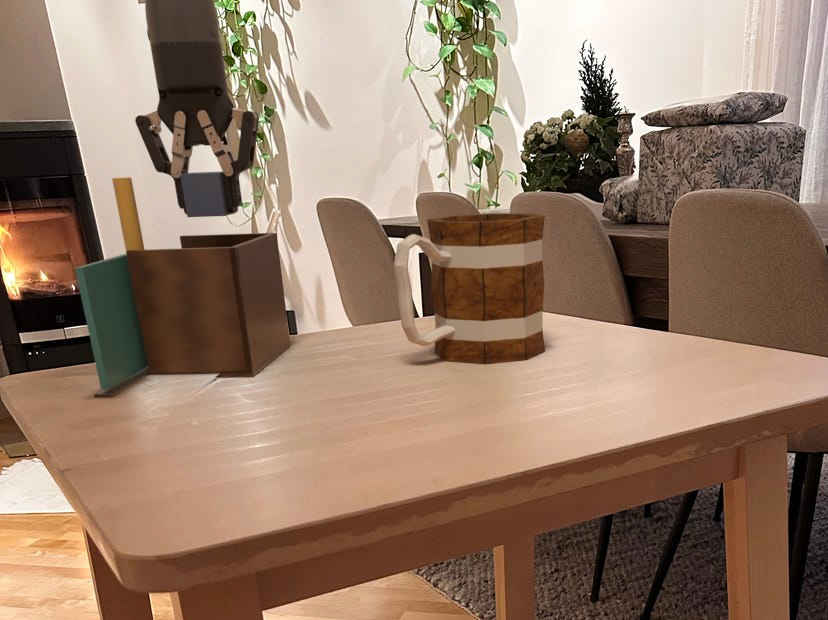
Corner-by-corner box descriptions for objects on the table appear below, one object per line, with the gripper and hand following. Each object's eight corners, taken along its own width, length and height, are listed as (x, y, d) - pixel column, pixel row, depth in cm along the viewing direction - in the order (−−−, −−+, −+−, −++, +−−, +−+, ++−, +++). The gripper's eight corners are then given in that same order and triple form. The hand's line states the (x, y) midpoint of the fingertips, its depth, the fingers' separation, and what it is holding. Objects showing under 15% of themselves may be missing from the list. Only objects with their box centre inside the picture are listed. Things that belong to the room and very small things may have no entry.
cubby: (95, 401, 99) (64, 262, 93) (185, 348, 124) (165, 236, 118) (226, 399, 98) (204, 258, 92) (290, 346, 123) (276, 232, 117)
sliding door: (95, 389, 99) (50, 183, 90) (153, 356, 114) (119, 177, 105) (114, 389, 99) (70, 183, 90) (169, 356, 114) (137, 176, 105)
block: (187, 217, 109) (179, 173, 107) (199, 214, 113) (192, 172, 111) (225, 216, 109) (218, 172, 107) (236, 213, 113) (230, 171, 111)
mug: (494, 337, 124) (491, 211, 117) (568, 350, 114) (569, 215, 107) (370, 361, 113) (358, 224, 106) (440, 378, 104) (432, 229, 97)
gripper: (259, 41, 106) (279, 209, 114) (134, 46, 107) (163, 212, 115) (240, 35, 99) (263, 213, 107) (108, 40, 100) (140, 217, 108)
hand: (211, 212), depth 111 cm, fingers closed on block, 4 cm apart
